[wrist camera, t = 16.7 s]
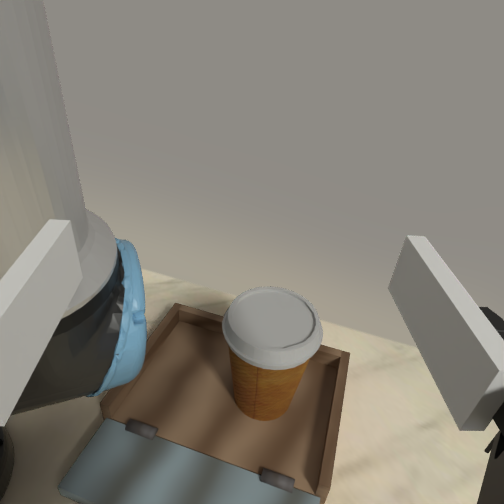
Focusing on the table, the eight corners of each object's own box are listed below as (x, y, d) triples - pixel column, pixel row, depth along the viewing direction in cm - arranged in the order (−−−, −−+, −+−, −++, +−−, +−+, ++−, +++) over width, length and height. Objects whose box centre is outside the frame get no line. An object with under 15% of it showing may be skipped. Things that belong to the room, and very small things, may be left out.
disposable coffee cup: (261, 348, 48) (270, 271, 41) (322, 397, 43) (345, 319, 36) (201, 392, 42) (201, 312, 36) (264, 456, 37) (278, 376, 30)
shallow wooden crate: (57, 495, 35) (47, 473, 33) (176, 324, 53) (175, 302, 51) (307, 605, 30) (315, 588, 28) (343, 374, 48) (350, 353, 46)
